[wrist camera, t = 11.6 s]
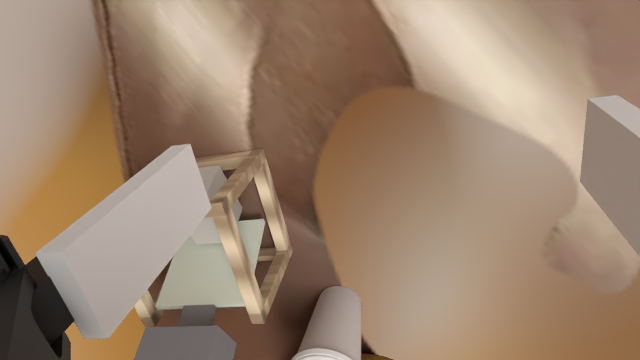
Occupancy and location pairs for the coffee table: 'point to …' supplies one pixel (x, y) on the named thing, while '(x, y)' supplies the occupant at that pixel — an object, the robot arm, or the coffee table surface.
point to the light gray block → (212, 183)
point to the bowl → (373, 357)
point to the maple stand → (221, 203)
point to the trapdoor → (199, 300)
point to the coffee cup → (333, 327)
